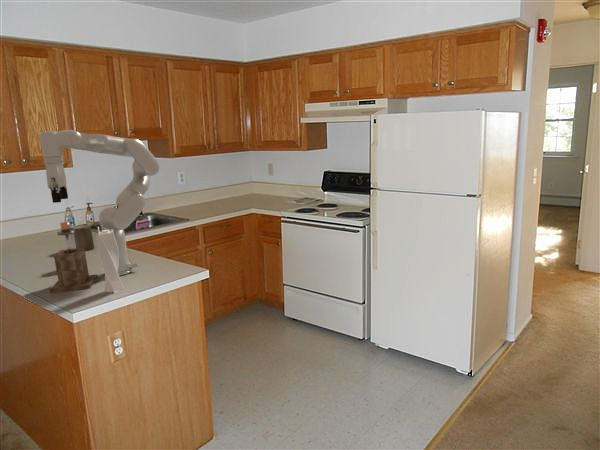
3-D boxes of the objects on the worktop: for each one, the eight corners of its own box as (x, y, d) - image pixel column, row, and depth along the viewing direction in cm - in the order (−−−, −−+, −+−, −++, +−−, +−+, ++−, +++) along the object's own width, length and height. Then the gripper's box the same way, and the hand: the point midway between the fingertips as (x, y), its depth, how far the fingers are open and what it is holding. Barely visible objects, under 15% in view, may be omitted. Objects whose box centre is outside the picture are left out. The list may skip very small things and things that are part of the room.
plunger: (81, 259, 208) (75, 220, 204) (77, 263, 201) (71, 223, 197) (65, 261, 207) (58, 221, 203) (60, 265, 200) (53, 225, 196)
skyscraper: (100, 292, 194) (90, 228, 188) (112, 286, 201) (103, 224, 195) (114, 294, 192) (105, 229, 185) (127, 287, 198) (118, 224, 192)
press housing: (97, 277, 215) (92, 245, 211) (90, 288, 200) (84, 254, 197) (60, 281, 212) (55, 249, 208) (50, 292, 197) (44, 258, 194)
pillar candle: (97, 248, 269) (93, 223, 266) (81, 252, 261) (77, 226, 258) (88, 246, 275) (84, 222, 272) (73, 250, 267) (68, 225, 264)
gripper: (51, 160, 202) (57, 198, 206) (37, 162, 186) (44, 204, 189) (69, 158, 203) (75, 197, 207) (57, 161, 187) (63, 203, 190)
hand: (60, 200), depth 198 cm, fingers open, 9 cm apart
